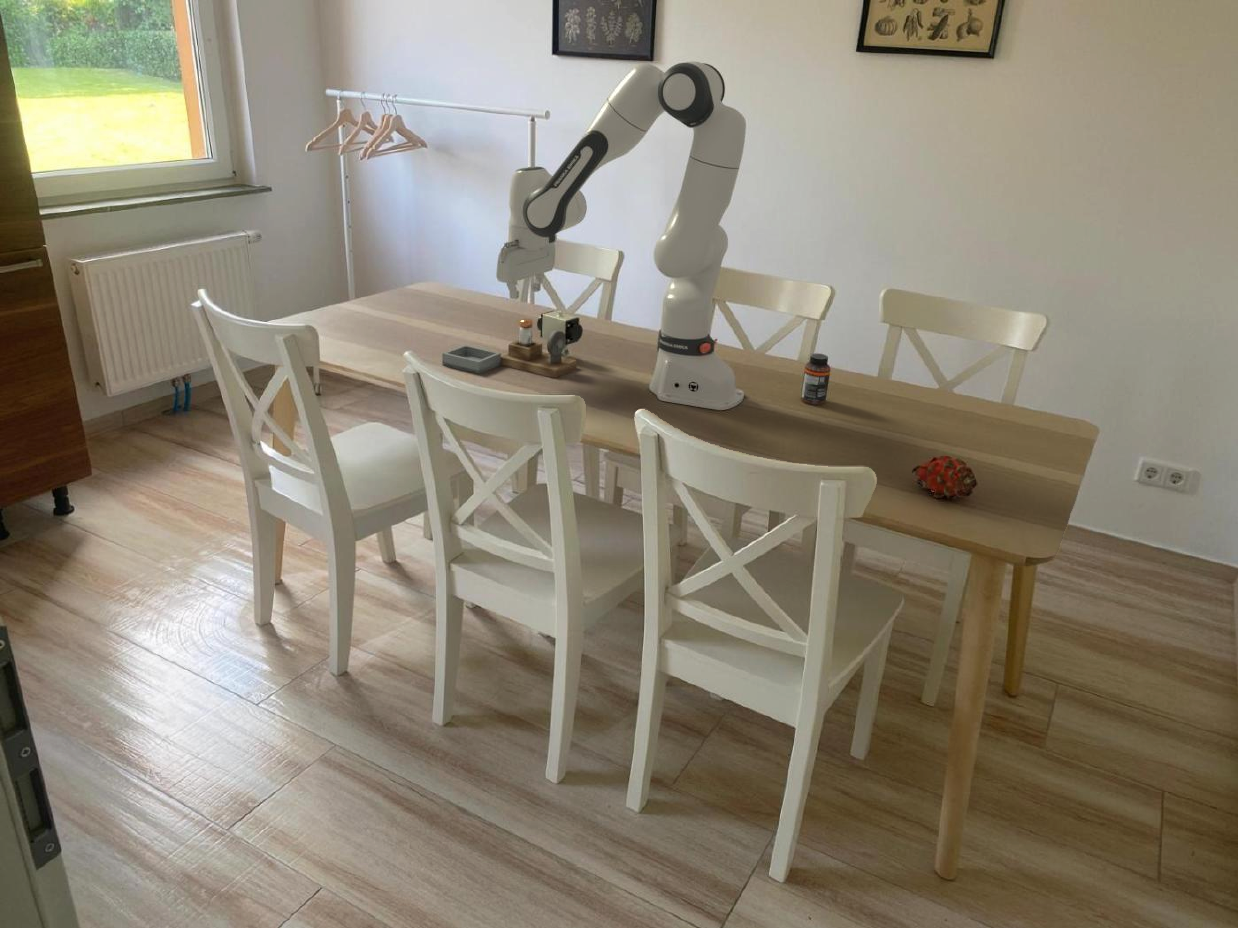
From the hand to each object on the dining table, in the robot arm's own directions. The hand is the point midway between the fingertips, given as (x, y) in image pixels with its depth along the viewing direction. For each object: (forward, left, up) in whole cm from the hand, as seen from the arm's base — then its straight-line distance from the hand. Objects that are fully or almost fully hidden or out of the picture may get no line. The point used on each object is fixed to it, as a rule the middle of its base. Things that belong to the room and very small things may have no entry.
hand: (525, 294), depth 220 cm
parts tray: (+9, +9, -17) cm, 22 cm away
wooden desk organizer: (-4, 0, -17) cm, 18 cm away
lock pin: (0, 0, -15) cm, 15 cm away
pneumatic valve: (-4, -10, -18) cm, 21 cm away
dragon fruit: (-105, +16, -18) cm, 108 cm away
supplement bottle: (-69, -19, -18) cm, 74 cm away
